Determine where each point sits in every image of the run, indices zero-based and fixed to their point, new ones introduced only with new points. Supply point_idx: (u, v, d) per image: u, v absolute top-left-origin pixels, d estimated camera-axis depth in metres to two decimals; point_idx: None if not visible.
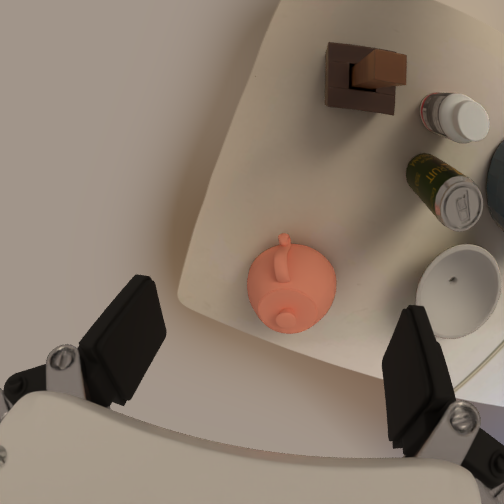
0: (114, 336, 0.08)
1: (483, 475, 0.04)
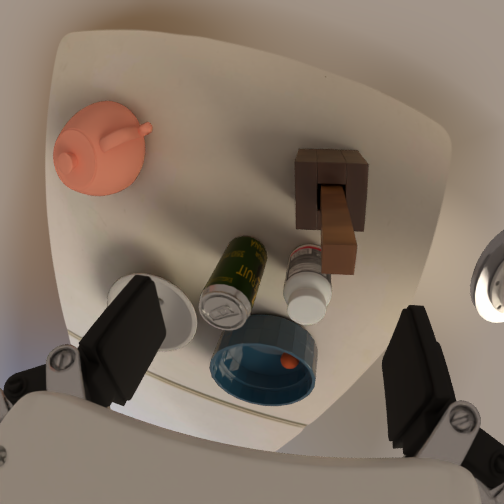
0: (114, 336, 0.08)
1: (483, 475, 0.04)
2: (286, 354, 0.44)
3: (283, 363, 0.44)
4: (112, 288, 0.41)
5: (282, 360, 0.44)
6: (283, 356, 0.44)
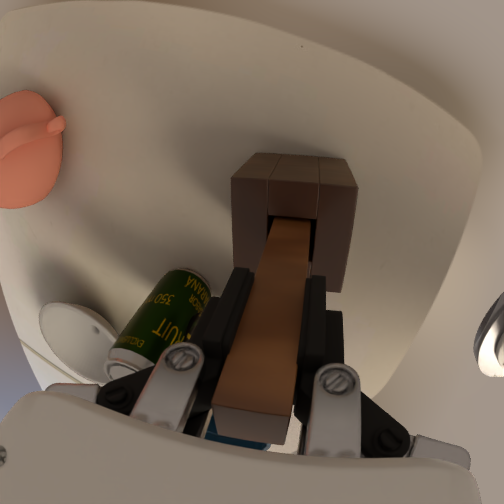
0: (235, 329, 0.09)
1: (362, 447, 0.06)
2: None
3: None
4: (41, 312, 0.30)
5: None
6: None
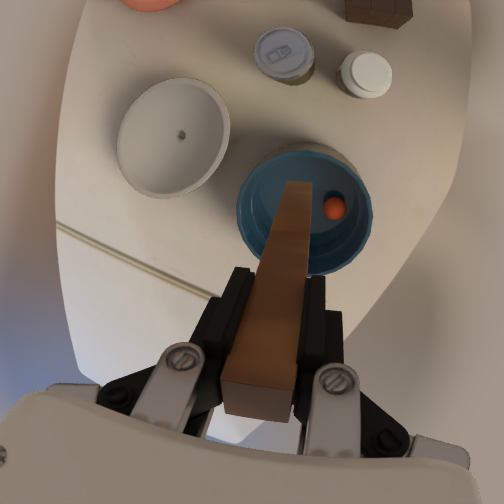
0: (235, 329, 0.09)
1: (361, 447, 0.06)
2: (331, 198, 0.36)
3: (328, 208, 0.36)
4: (130, 108, 0.33)
5: (327, 205, 0.36)
6: (328, 200, 0.36)
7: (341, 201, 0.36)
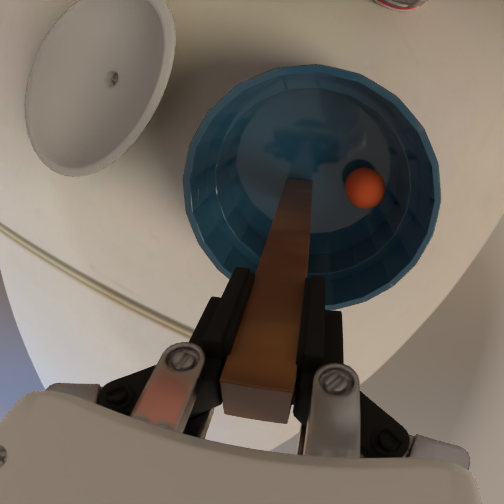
0: (235, 329, 0.09)
1: (361, 447, 0.06)
2: (359, 169, 0.19)
3: (355, 187, 0.19)
4: (41, 46, 0.15)
5: (352, 181, 0.19)
6: (354, 172, 0.19)
7: (377, 175, 0.19)
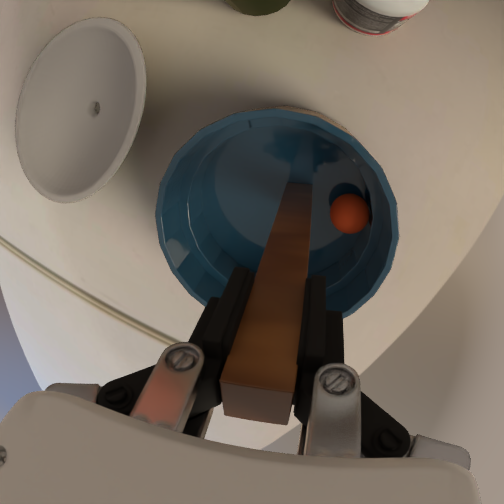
0: (235, 329, 0.09)
1: (362, 447, 0.06)
2: (346, 195, 0.21)
3: (357, 210, 0.20)
4: (27, 77, 0.17)
5: (351, 206, 0.20)
6: (345, 199, 0.20)
7: None
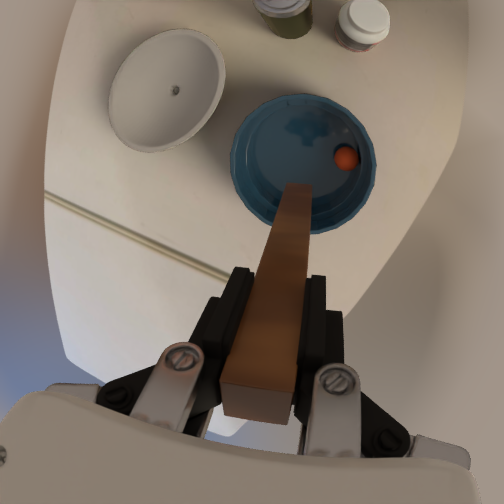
0: (235, 329, 0.09)
1: (362, 447, 0.06)
2: (343, 147, 0.33)
3: (350, 154, 0.32)
4: (124, 62, 0.29)
5: (346, 152, 0.32)
6: (343, 148, 0.32)
7: None
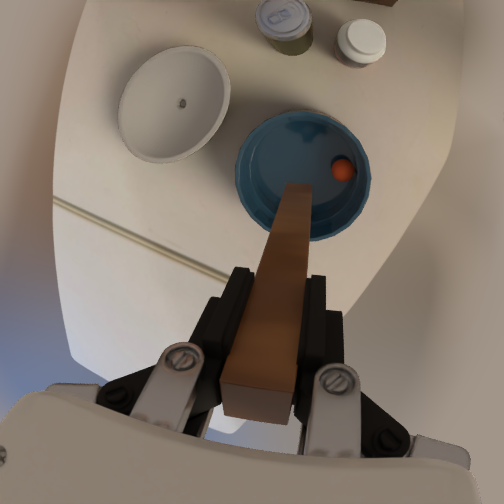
0: (234, 329, 0.09)
1: (362, 447, 0.06)
2: (340, 159, 0.35)
3: (345, 166, 0.35)
4: (133, 76, 0.32)
5: (342, 164, 0.35)
6: (339, 161, 0.35)
7: None
